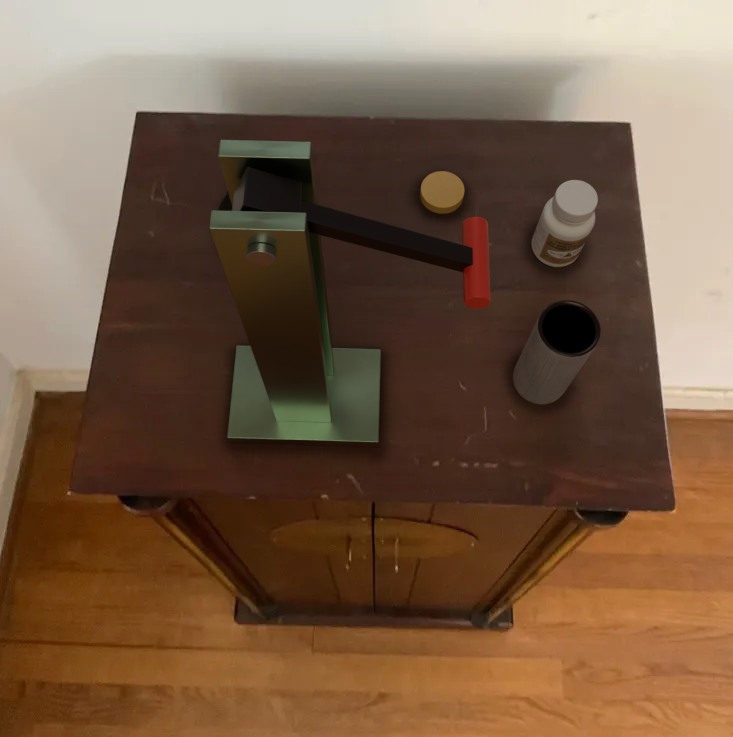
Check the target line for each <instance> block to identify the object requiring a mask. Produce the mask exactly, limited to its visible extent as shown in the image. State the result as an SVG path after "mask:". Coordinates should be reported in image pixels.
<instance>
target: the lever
mask: <svg viewBox="0 0 733 737" xmlns="http://www.w3.org/2000/svg"><path fill="white" fill-rule="evenodd" d="M301 192H302V182H300V181H296V180H293V179H289V178H286V177H282V176H279V175H275V174H272V173H268V172H265V171H262V170H258V169H255V168H251V167H247V168H246V170H245V172H244V174H243V176H242V178H241V180H240V182H239V184H238V186H237V188H236V190H235V192H234V198H233V207H232V208H231V211H253V212H293V213H306V214H307V222H308V229H309V232H310V233H314V234H318V235H321V237H326V238H330V239H333V240H337V241H341V242H345V243H349V244H353V245H357V246H360V247H364V248H368V249H370V250H371V249H372V250H376V251H378V252H383V253H387V254H391V255H395V256H398V257H402V258H406V259H410V260H412V261H413V260H414V261H418V262H421V263H424V264H429V265H433V266H436V267H441V268H444V269H448V270H452V271H456V272H459V273H462V286H463V288H462V290H463V291H462V292H463V293H462V294H463V304H464V306H465V307H467V308H470V309H485V308H487V307H488V306H490V304H491V302H492V298H491V297H492V296H491V294H492V292H491V269H490V267H491V266H490V241H489V222H488V221H487V219H485V217H481V216H472V217H468V218H466V219H465V220H463V222H462V224H461V230H462V231H461V236H462V237H461V238H462V243H458V242H454V241H450V240H447V239H443V238H439V237H435V236H432V235H429V234H425V233H421V232H417V231H414V230H412V229H411V230H410V229H406V228H403V227H399V226H396V225H394V224H393V225H392V224H389V223H386V222H381V221H378V220H374V219H371V218H367V217H364V216H360V215H356V214H352V213H349V212H345V211H342V210H340V209H339V210H338V209H335V208H331V207H327V206H324V205H322V204H321V205H320V204H318V205H317V204H313V203H310V202H306V201H303V200H301Z"/></svg>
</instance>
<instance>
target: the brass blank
mask: <svg viewBox="0 0 733 737" xmlns="http://www.w3.org/2000/svg"><path fill="white" fill-rule="evenodd" d="M464 196H465V185H464V182H463V181H462V179H461V178H460V177H459V176H457V174H454V173H453V172H451V171H446V170H440V171H439V170H438V171H433V172H432V173H429V174H428V175H426V177H425V178H423V180H422V182H421V185H420V191H419V197H420V202H421V204H422V205H423V206H424V207H425V208H426V209H427V210H428V211H430V212H433V213H435V214H440V215H445V214H450V213H453V212H455V211H456V210H457V209H459V207H461V206H462V204H463V202H464Z"/></svg>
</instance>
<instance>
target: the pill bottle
mask: <svg viewBox="0 0 733 737" xmlns="http://www.w3.org/2000/svg"><path fill="white" fill-rule="evenodd" d="M553 195H554V196H552V197H551V198H549V199H548V200H547V202H546V203H545V205H544V207H543V209H542V212H541V214H540V216H539V220H538V223H537V224H536V227H535V229H534V232H533V235H532V237H531V238H532V239H531V250H532V252H533V254H534V256H535V257H536V258H537V260H538V261H540V262H541V263H543V264H545V265H547V266H549V267H553V268H562V267H566V266H569V265H571V264H573V263H574V262H575V261H576V260H577V259H578V257H579V256H580V254H581V252H582V251H583V248H584V246H585V244H586V242H587V240H588V238H589V236H590V235H591V232H592V230H593V228H594V226H595V224H596V212H595V211H596V208H597V206H598V203H599V197H598V193H597V191H596V190H595V188H594V187H593V186H592V185H591V184H589V183H588V182H586V181H584V180H580V179H570V180H566V181H565V182H563V183H561V184H560V185H559V186H558V187H557V188H556V190H555V193H554V194H553Z"/></svg>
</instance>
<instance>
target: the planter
mask: <svg viewBox="0 0 733 737" xmlns="http://www.w3.org/2000/svg"><path fill="white" fill-rule="evenodd" d="M601 336H602V328H601V323H600V320H599V318H598V316H597V315H596V313H595V312H594V311H593V310H592V309H591V308H590V307H589V306H587V305H586V304H584V303H583V302H580V301H577V300H574V299H573V300H572V299H561V300H557V301H554V302H551V303H549V304H548V305H546V306H545V307H544V308H543V309H542V310H541V312H540V314H539V315H538V318H537V319H536V321H535V324H534V326H533V328H532V330H531V332H530V334H529V337H528V339H527V340H526V343H525V345H524V347H523V349H522V351H521V353H520V355H519V358H518V360H517V362H516V363H515V366H514V368H513V372H512V382H513V386H514V388H515V390H516V392H517V393H518V394H519V396H520V397H522V398H523V399H524V400H525V401H527V402H530V403H531V404H535V405H548V404H552V403H554V402H556V401H558V400H559V399H560V398H561V397H562V396H563V395H564V394H565V392H566V391H567V389H568V388H569V387H570V385H571V384H572V382H573V381H574V380H575V378H576V377H577V375H578V374H579V372H580V371H581V369H582V368H583V366H584V365H585V363H586V362H587V361H588V359H589V358H590V357H591V355H592V354H593V352H594V351H595V349H596V348H597V346H598V344H599V343H600V341H601Z"/></svg>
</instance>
